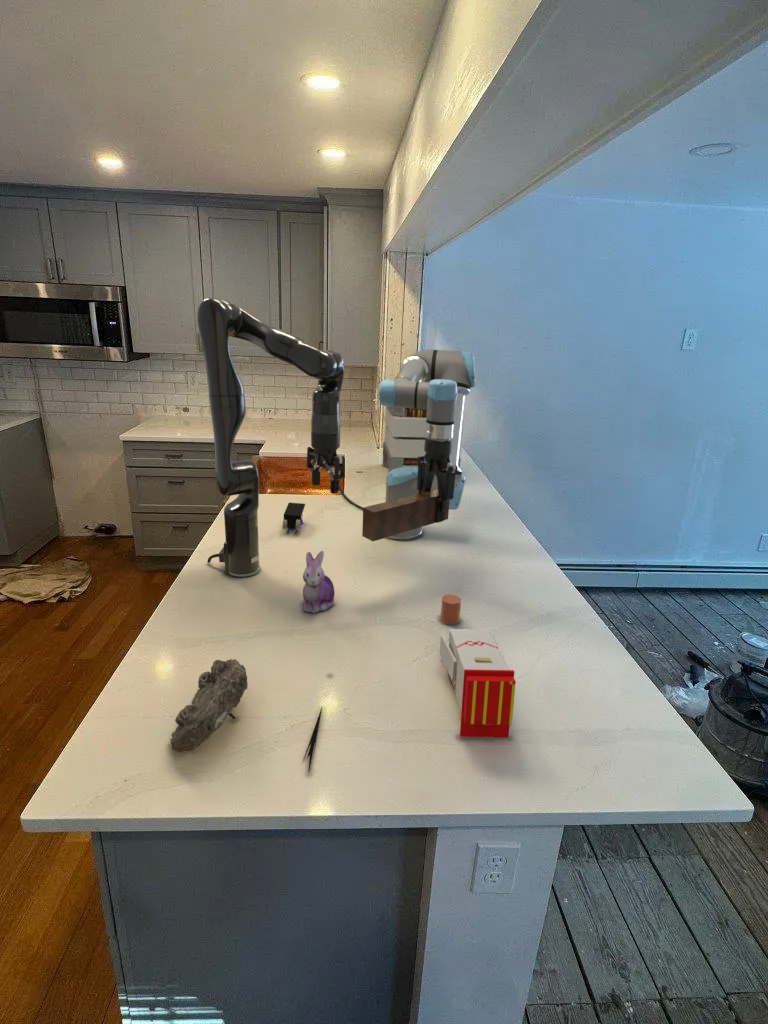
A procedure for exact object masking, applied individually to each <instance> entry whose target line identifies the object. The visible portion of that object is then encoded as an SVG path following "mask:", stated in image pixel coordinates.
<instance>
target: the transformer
mask: <svg viewBox="0 0 768 1024" xmlns="http://www.w3.org/2000/svg"><path fill="white" fill-rule="evenodd" d="M384 414H385V416H384V424H385V425H384V426H385V427H384V440H383V441H382V442H383V443H382V463H381V464H382V465H383V467H386V468H388V473H389V472H390V471H391V470H393V469H396V468H400V467H416V466H417V467H418V461H417V457H419V456H425V454H426V452H425V451H424V445H425V439H426V438H427V437H426V436H425V433H426V419H427V409H417V408H401V407H389V406H385V413H384ZM463 431H464V419H463V422H462V432H461V439H462V438H463ZM462 443H463V442H462V440H461V442H460V452H459V462H458V467H459V468H460V469H461V462H462V458H461V452H462Z"/></svg>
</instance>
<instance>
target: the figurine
mask: <svg viewBox="0 0 768 1024" xmlns="http://www.w3.org/2000/svg"><path fill="white" fill-rule="evenodd" d="M324 556H325V552H324V551H323V550H320V551H319V552H318V553H317V555H316V557H315V558H314V556H313V555H312V552H311V551H308V552H306V556H305V563H306V567H305V568H304V571H303V574H302V579H303V581H304V583H305V584H304V585H303V588H302V596H303V602H302V604H303V609H304V612H308V613H309V612H310V613H318V612H321V611H322V612H323V611H326V610H327V609H329V608H330V607H332V606H333V604H334V600H335V587H334V582H333V581H332V580H331V578H330V577H329V576H327V575H326V574H325V571H324V569H323V567H322V564H323V560H324Z"/></svg>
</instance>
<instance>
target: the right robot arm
mask: <svg viewBox="0 0 768 1024" xmlns="http://www.w3.org/2000/svg"><path fill="white" fill-rule="evenodd" d="M475 365H476V364H475V355H474V354H473V352H470V351H463V350H446V349H432V348H431V349H424V350H419V351H416V352H414V353H412V354H410V355H408V356H407V357H406V358H405V359H403V361H402V363H401V364H400V367H399V372H398V373H397V375H396V376H395V378H394V379H392V378H389V379H382V380H381V381H380V384H379V388H378V390H379V391H378V401H379V404H380V405H381V406H382V407H386V406H389V407H401V408H417V409H427V419H426V433H425V436H426V437H427V438H426V439H425V445H424V451H425V452H426V454H425V456H419V457H417V461H418V466H417V467H416V466H403V467H400V468H396V469H393V470H391V471H390V472H389V471H388V473H387V475H386V482H385V502H388V501H392V500H396V499H400V498H404V497H408V496H412V495H416V494H420V493H424V492H428V491H432V490H436V489H438V494H439V499H437V502H436V515H435V522H436V523H435V524H438V523H442V522H444V521H445V520H444V511H446V504H447V500H450V501H449V511H454V510H455V511H456V510H457V509H459V508H460V504H461V501H462V498H463V497H462V496H463V493H464V488H465V483H466V477H465V476H463V470H462V469H461V467H460V468H459V467H458V462H459V452H460V442H461V441H462V438H461V432H462V422H463V423H464V421H463V420H464V412H465V411H464V410H465V403H466V402H465V401H466V397H467V396H468V395H469V394H470V393H471V389H472V388H475V387H476V369H475V368H476V367H475ZM462 433H463V432H462ZM339 492H340V493H341V495H342V497H343V498H344V499H345V500H346V501H348V503H350V504H351V505H353V506H354V507H357V508H358V509H360V510H361V511H363V507H364V506H361V505H359V504H357V503H355V502H354V501H352V500H351V499H350V498H348V496H347V495H346V494H345V493H344V491H343V489H341V487H340V486H339ZM422 535H423V527H420V528H417V529H413V530H410V531H406V532H403V533H400V534H396V535H393V536H390V537H386V538H387V539H389V540H395V541H410V540H415V539H418V538H420V537H421V536H422Z"/></svg>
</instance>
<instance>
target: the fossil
mask: <svg viewBox="0 0 768 1024" xmlns="http://www.w3.org/2000/svg"><path fill="white" fill-rule="evenodd" d="M197 683H198V684H197V687H198V690H197V691H196V693H195V694H194V697H193V698H192V701H191V704H187V705H185V706H184V707H183V708H182V709H181V710H179V712H178V713H177V715H176V717H175V719H174V721H175V723H176V725H177V726H176V728H175V730H174V731H173V732H172V733H171V735H170V736H171V738H170V747H171V750H172V751H176V752H178V753H186V752H190V751H193V752H195V751H197V750H198V749H199V748H200V747H201V746H202V745H203V744H204V743H205V742H207V741H208V740H209V739H210V737H211V736H212V735H213V734H215V733H216V731H218V730H219V729H220V728H221V726H222V725H223V723H224V721H225V720H226V719H227V718H228V717H230V718H232V720H235V719H236V716H235V715H234V714H233V713H232V710H233V709H235V708H237V706H238V705H239V704H240V702H241V700H242V698H243V696H244V693H245V691H246V690H247V689H248V686H249V685H248V675H247V669H246V668H245V666H244V665H243V664H241V663H240V661H238V660H237V659H236V658H234V659H232V658H230V659H226V660H221V659H216V660H214V661H213V662H212V665H211V667H210V671H208V670H207V671H205V672H201V674H200V675H199V676H198V681H197Z"/></svg>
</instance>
